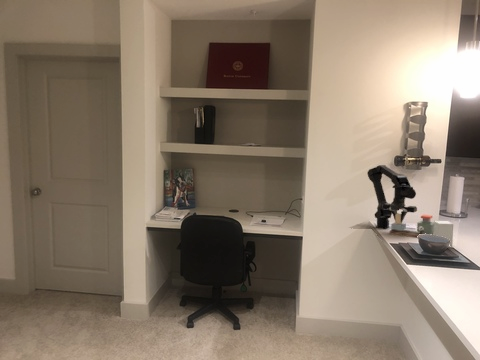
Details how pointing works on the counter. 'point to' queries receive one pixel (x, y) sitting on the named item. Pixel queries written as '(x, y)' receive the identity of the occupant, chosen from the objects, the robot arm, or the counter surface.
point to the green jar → (425, 227)
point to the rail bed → (406, 232)
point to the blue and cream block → (398, 223)
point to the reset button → (426, 218)
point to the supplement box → (444, 229)
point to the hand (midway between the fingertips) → (398, 221)
